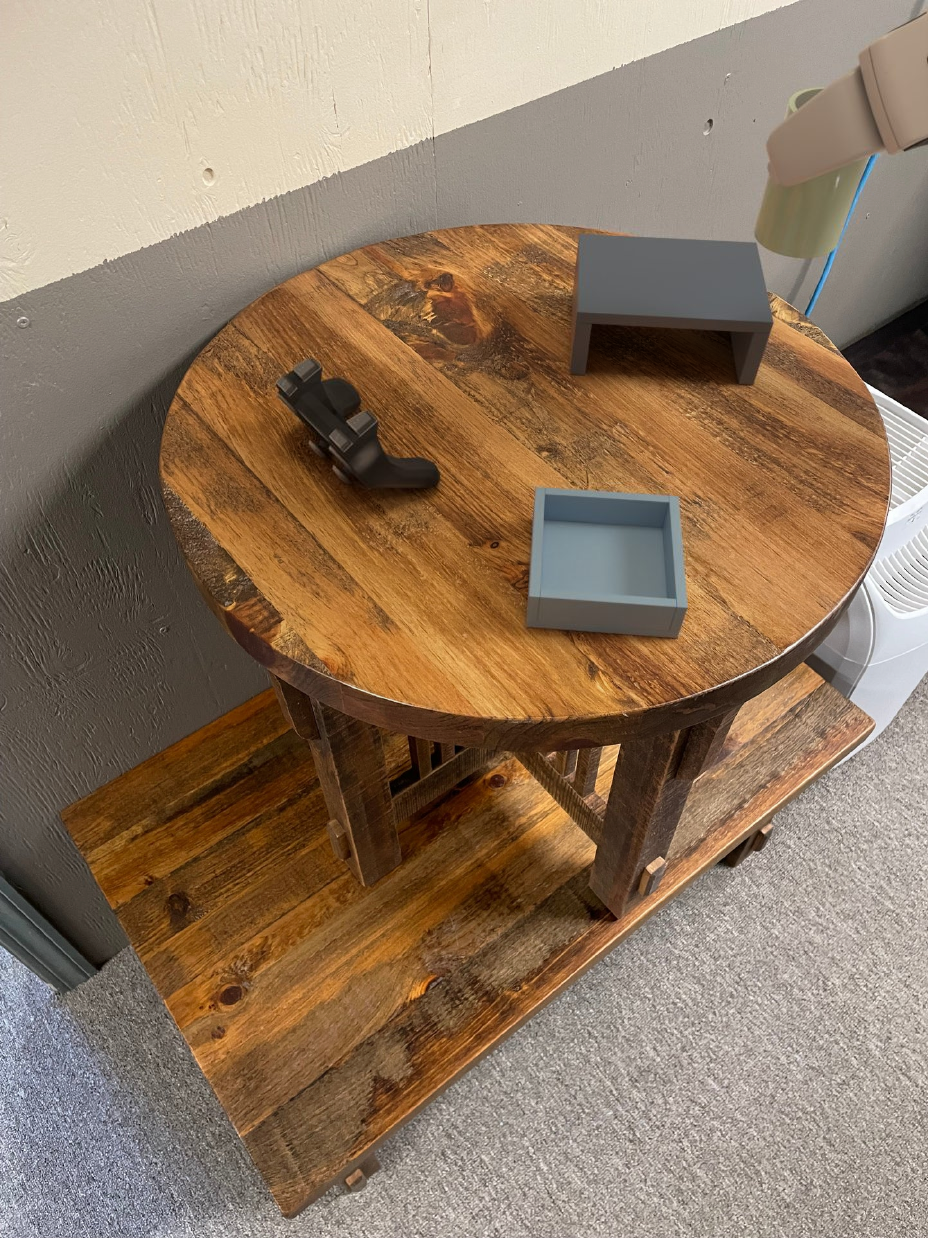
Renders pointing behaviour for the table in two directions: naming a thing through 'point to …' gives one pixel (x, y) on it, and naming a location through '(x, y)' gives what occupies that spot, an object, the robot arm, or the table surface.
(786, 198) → the cup
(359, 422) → the game controller
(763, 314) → the shelf
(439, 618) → the table surface
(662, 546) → the open bin
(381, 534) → the table surface
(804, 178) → the robot arm
